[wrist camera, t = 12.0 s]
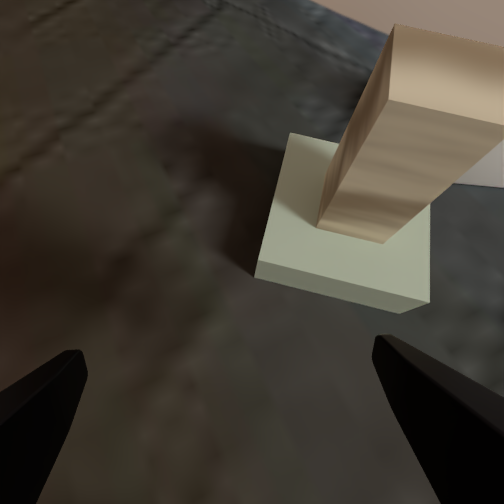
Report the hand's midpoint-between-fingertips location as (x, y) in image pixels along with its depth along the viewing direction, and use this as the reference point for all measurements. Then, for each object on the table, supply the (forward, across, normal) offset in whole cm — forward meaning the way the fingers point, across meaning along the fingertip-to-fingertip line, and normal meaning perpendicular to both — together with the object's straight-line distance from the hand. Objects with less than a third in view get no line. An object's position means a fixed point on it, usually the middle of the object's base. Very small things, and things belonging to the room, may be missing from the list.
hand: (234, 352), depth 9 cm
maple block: (+14, -9, -1) cm, 17 cm away
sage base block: (+17, -9, +2) cm, 20 cm away
